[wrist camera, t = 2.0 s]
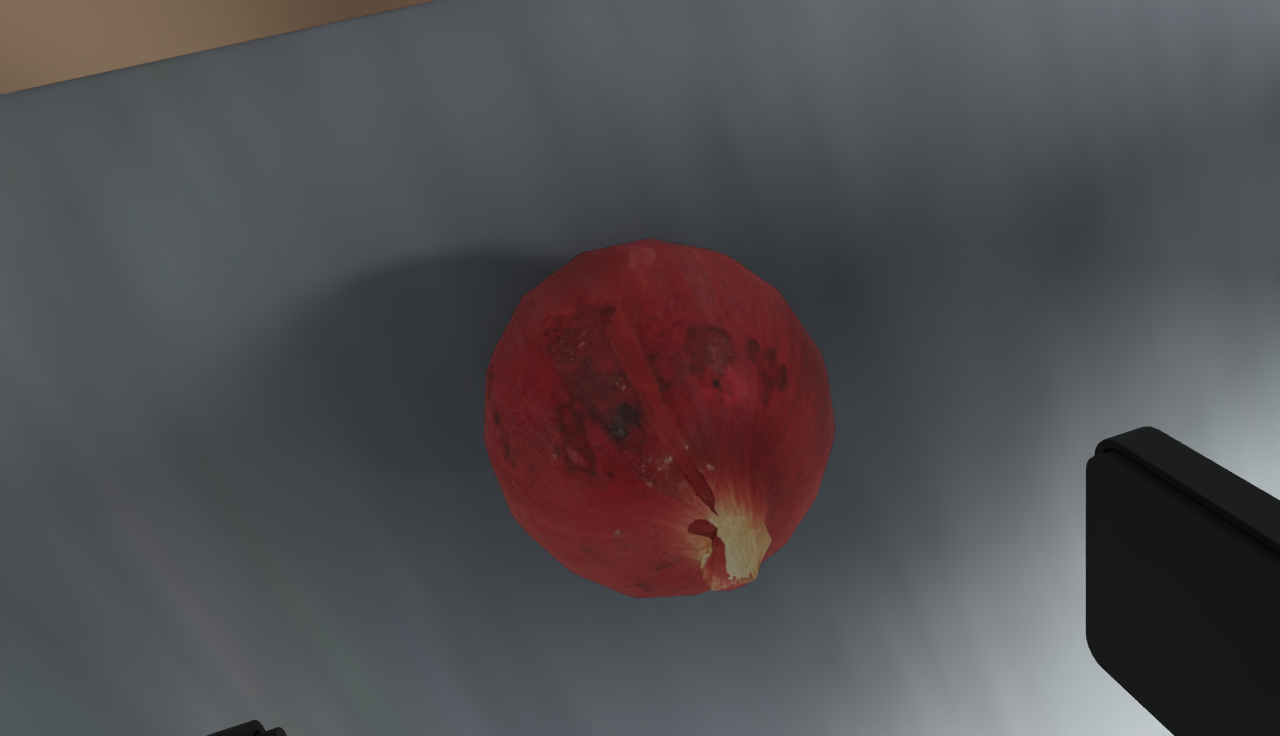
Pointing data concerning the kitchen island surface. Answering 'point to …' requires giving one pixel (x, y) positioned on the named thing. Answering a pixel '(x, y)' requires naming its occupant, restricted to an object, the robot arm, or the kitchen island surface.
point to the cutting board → (145, 31)
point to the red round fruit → (658, 418)
